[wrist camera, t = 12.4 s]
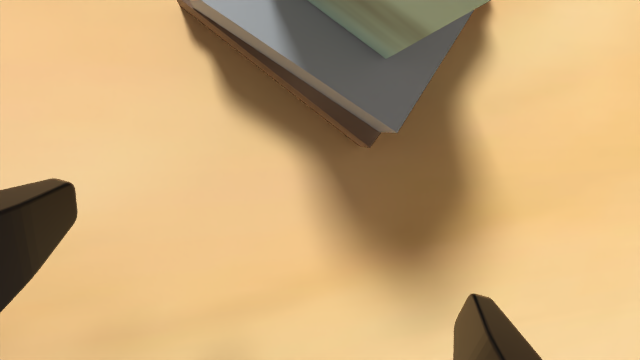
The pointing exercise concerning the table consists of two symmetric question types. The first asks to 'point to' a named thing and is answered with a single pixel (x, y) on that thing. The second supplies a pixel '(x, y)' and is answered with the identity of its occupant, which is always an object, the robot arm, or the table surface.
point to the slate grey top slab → (337, 56)
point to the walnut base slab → (294, 84)
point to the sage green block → (394, 19)
